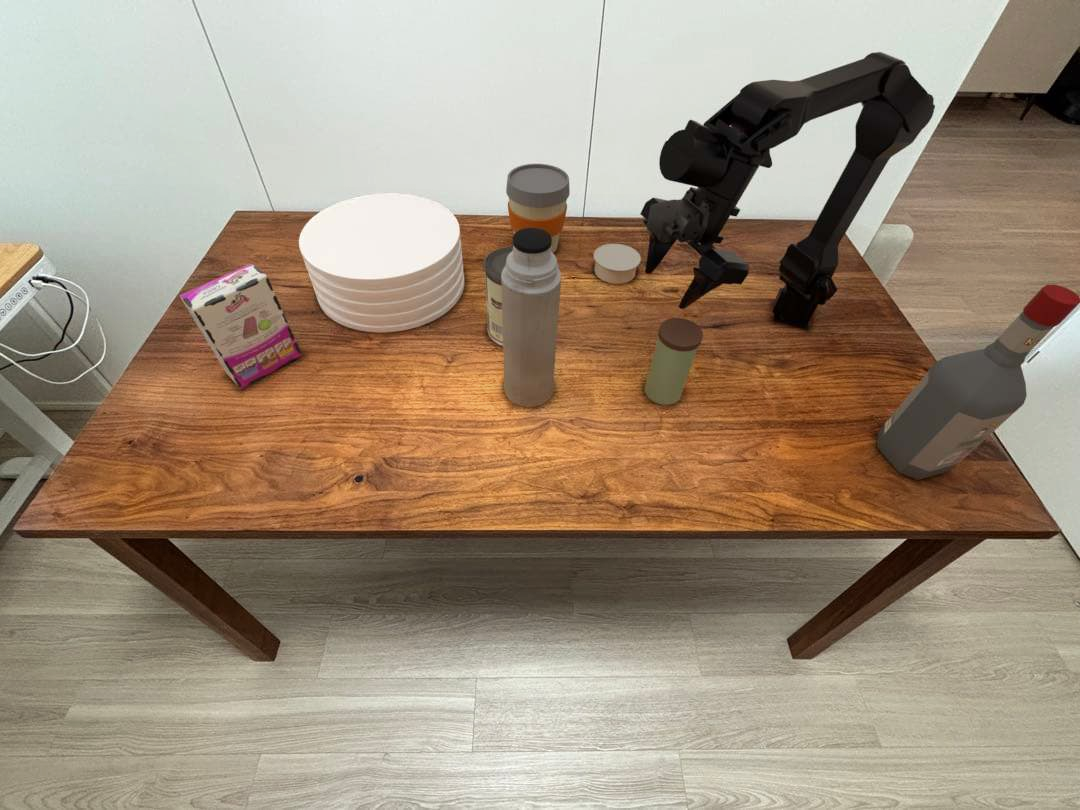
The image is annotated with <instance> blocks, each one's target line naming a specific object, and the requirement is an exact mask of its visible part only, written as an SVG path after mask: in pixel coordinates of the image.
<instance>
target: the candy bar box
mask: <svg viewBox="0 0 1080 810" xmlns="http://www.w3.org/2000/svg"><path fill="white" fill-rule="evenodd" d="M179 298H180V299H181V301H182V303H183V305H184V306H185V308H186V309H187V311H188V313H189V315H190V316H191V317H192V319H193V321H194V323H195V324H196V326H197V327H198V329H199V331H200V333H201V335H203V337H204V339H205V341H206V342H207V344H208V345H209V347H210V349H211V350H212V352H213V354H214V355H215V357H216V358H217V360H218V362H219V364H220V365H221V366H222V368H223V370H224V372H225V373H226V374H227V376H228V377H229V378H230V379H231V380H232V381H233V382H234V383H235V385H236V386H237V387H238V388H239V389H240V390H243V389H245V388H248V387H249V386H251V385H252V384H254V383H255V382H257V381H260V380H261V379H262V378H263V379H264V378H265V377H266V376H268V375H270V374H272V373H273V372H275V371H277V370H279V369H280V368H282V367H284V366H286V365H288V364H290V363H291V362H293V361H295V360H296V359H298V358H300V357H302V356H303V354H302V352H301V349H300V346H299V345H298V342H297V340H296V338H295V335H294V334H293V331H292V329H291V327H290V324H289V322H288V320H287V318H286V315H285V313H284V311H283V309H282V307H281V304H280V302H279V299H278V297H277V294H276V293H275V291H274V288H273V286H272V284H271V281H270V279H269V277H268V275H267V274H266V273H264V272H263V271H261V270H260V269H259V268H257V267H256V265H255V264H253V263H249V264H246V265H244V266H242V267H240V268H237V269H235V270H233V271H231V272H229V273H226V274H224V275H222V276H220V277H218V278H215V279H213V280H211V281H209V282H206V283H205V284H202V285H199V286H197V287H195V288H193V289H191V290H188V291H186V292H184V293H182V294H179Z"/></svg>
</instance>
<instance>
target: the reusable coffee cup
mask: <svg viewBox="0 0 1080 810" xmlns="http://www.w3.org/2000/svg"><path fill="white" fill-rule="evenodd" d="M570 191H571V190H570V177H569V174H568V173H567V172H566V171H565V170H563V169H561V168H560V167H557V166H554V165H550V164H545V163H526V164H522V165H519V166H516V167H514V168H513V169H511V170H510V171H509V172H508V174H507V179H506V189H505V192H506V196H507V197H508V202H507V210H508V218H509V224H510V228H511V230H512V231H513V235H514V234H515V233H516V232H517V231H519V230H521V229H524V228H539V229H542V230H545V231H546V232H548V233H549V234H550V235H551V237H552V245H551V252H552V253H553V254H554V253H555V252H556V251H557V249H558V245H559V240H560V234H561V232H562V231H563V229H564V225H565V222H566V221H565V220H566V215H567V210H568V204H567V201H568V198H569V197H570Z"/></svg>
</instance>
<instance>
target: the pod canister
mask: <svg viewBox="0 0 1080 810" xmlns="http://www.w3.org/2000/svg"><path fill="white" fill-rule="evenodd" d="M657 336H658V337H657V341H656V344H655V348H654V352H653V355H652V359H651V363H650V366H649V370H648V373H647V378H646V381H645V385H644V393H645V395H646V396H647V398H648V399H649V400H650V401H652V402H654V403H655V404H658V405H663V406H670V405H673V404H676V403H678V401H680V400H681V397H682V394H683V391H684V388H685V386H686V383H687V380H688V377H689V374H690V371H691V369H692V366H693V363H694V359H695V356H696V354H697V352H698V348H699V347H700V345H701V344H702V341H703V338H704V333H703V330H702V328H701V327H700V326H699V325H698V324H697V323H696V322H694V321H692V320H690V319H687V318H684V317H671V318H670V317H669V318H667V319H664V320H663V321H662V322H661V323H660V324H659V327H658V331H657Z"/></svg>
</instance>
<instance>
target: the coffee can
mask: <svg viewBox="0 0 1080 810" xmlns="http://www.w3.org/2000/svg"><path fill="white" fill-rule="evenodd" d="M512 251H513V245H510V246H503V247H500V248H497V249H494V250H493V251H490V252H489V253H488V254H487V255H486V256H485V258H484V260H483V272H484V282H485V284H484V285H485V301H486V302H485V303H486V319H487V334H488V336H489V339H490V340H491V341H493V342H494V343H496V344H497V345H499V346H501V347H503V323H502V285H501V274H502V271H503V269H504V267H505V265H506V260H507V256H508V255H509V254H510V252H512Z"/></svg>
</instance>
